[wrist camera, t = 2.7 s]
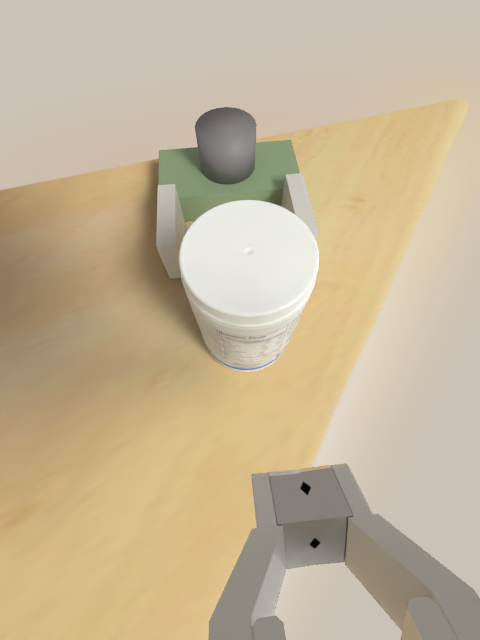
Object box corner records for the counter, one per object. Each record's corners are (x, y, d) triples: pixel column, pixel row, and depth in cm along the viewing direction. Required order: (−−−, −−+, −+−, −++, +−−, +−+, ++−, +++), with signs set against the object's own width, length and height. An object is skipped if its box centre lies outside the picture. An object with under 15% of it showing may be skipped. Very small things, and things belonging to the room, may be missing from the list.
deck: (165, 279, 35) (141, 227, 27) (166, 176, 42) (147, 110, 34) (311, 265, 36) (331, 210, 27) (286, 166, 43) (297, 99, 35)
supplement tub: (201, 298, 34) (174, 200, 20) (281, 291, 34) (305, 188, 21) (206, 380, 30) (175, 324, 16) (296, 370, 30) (338, 308, 17)
